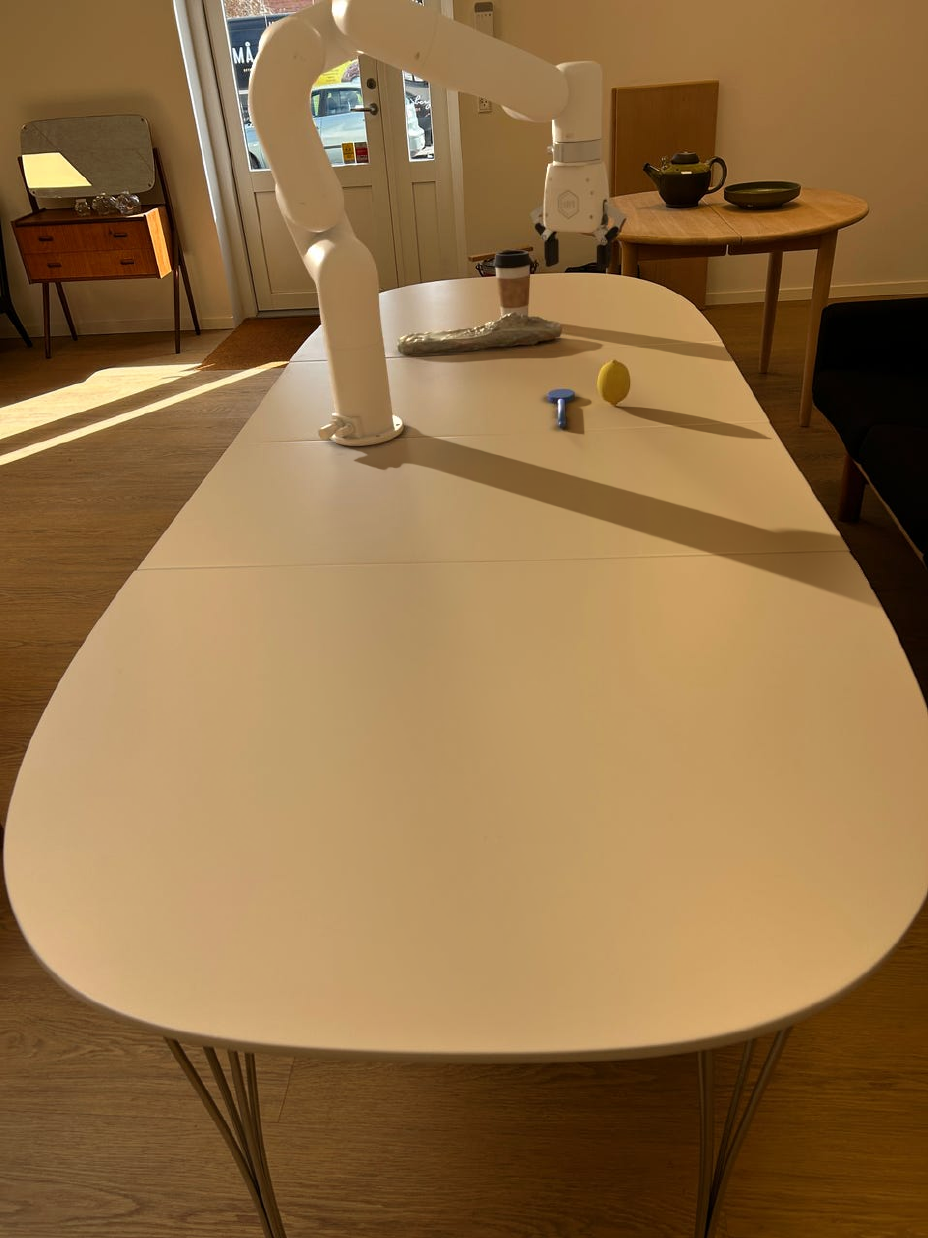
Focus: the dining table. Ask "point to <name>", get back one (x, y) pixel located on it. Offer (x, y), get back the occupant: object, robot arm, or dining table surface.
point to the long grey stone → (483, 335)
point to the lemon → (614, 382)
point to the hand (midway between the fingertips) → (577, 266)
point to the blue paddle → (561, 402)
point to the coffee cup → (513, 281)
